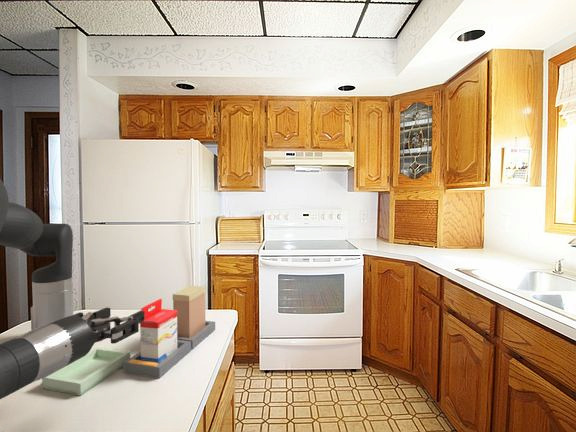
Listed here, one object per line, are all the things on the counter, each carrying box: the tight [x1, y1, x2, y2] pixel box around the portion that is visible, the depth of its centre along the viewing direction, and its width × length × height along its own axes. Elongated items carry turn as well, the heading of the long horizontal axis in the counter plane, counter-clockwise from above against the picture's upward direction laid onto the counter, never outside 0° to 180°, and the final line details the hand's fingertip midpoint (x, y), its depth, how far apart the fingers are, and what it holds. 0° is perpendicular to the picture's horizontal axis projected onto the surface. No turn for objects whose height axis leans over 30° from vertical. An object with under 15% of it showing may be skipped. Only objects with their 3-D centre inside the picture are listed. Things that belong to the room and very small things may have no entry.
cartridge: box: [172, 285, 207, 338], centre depth 91 cm, size 5×9×14 cm, turn 167°
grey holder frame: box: [123, 320, 216, 379], centre depth 84 cm, size 9×27×3 cm, turn 167°
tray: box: [41, 346, 131, 396], centre depth 71 cm, size 10×14×2 cm
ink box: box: [139, 298, 177, 364], centre depth 77 cm, size 8×5×15 cm, turn 168°
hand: (125, 313), depth 66 cm, fingers open, 8 cm apart
